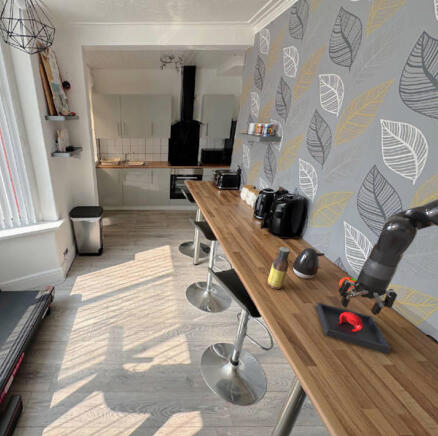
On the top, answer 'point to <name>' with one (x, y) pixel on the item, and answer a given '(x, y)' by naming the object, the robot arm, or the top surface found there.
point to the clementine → (348, 280)
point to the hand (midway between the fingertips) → (358, 309)
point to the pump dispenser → (307, 263)
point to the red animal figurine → (352, 320)
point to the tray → (364, 337)
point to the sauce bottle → (279, 269)
